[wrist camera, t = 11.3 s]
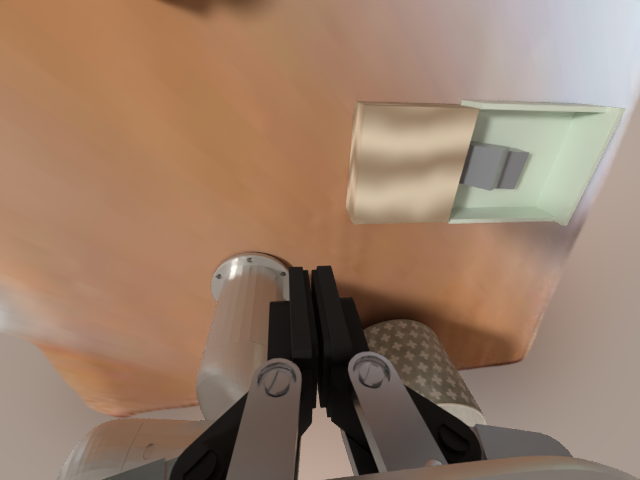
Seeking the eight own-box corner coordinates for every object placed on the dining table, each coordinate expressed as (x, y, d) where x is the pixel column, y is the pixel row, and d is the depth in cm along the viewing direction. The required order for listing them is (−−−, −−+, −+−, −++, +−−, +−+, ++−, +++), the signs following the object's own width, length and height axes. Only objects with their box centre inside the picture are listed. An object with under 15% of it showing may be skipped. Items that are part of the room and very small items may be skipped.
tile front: (451, 181, 40) (459, 177, 41) (490, 190, 37) (497, 186, 38) (460, 143, 37) (468, 140, 39) (503, 150, 34) (510, 146, 36)
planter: (448, 316, 56) (514, 410, 40) (404, 379, 64) (444, 477, 49) (358, 298, 51) (393, 398, 36) (323, 369, 60) (338, 475, 44)
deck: (431, 207, 44) (448, 222, 40) (345, 208, 42) (353, 224, 38) (456, 104, 37) (479, 108, 33) (354, 101, 35) (365, 105, 31)
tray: (534, 208, 46) (566, 225, 41) (434, 210, 44) (455, 228, 39) (579, 103, 39) (625, 108, 34) (461, 99, 37) (491, 104, 32)
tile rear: (480, 187, 40) (470, 181, 42) (513, 189, 40) (501, 183, 43) (494, 150, 37) (483, 145, 39) (529, 152, 38) (516, 148, 40)
